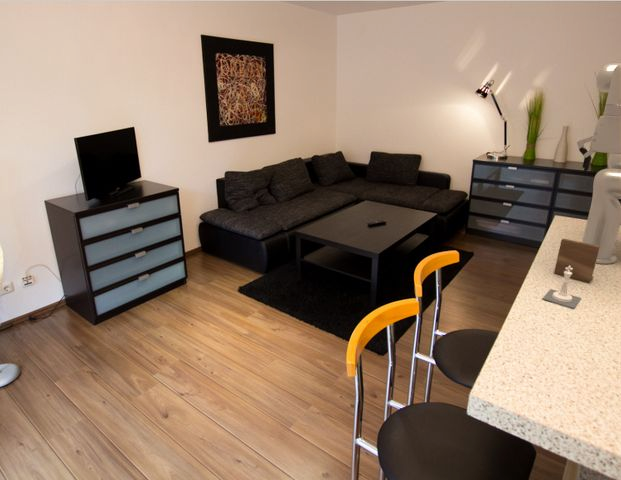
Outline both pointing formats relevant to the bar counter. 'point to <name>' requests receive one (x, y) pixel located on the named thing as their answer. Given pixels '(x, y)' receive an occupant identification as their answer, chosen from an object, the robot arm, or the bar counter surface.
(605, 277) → the bar counter surface
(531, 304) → the bar counter surface
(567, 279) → the chess piece
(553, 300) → the pad
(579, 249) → the brown piece
